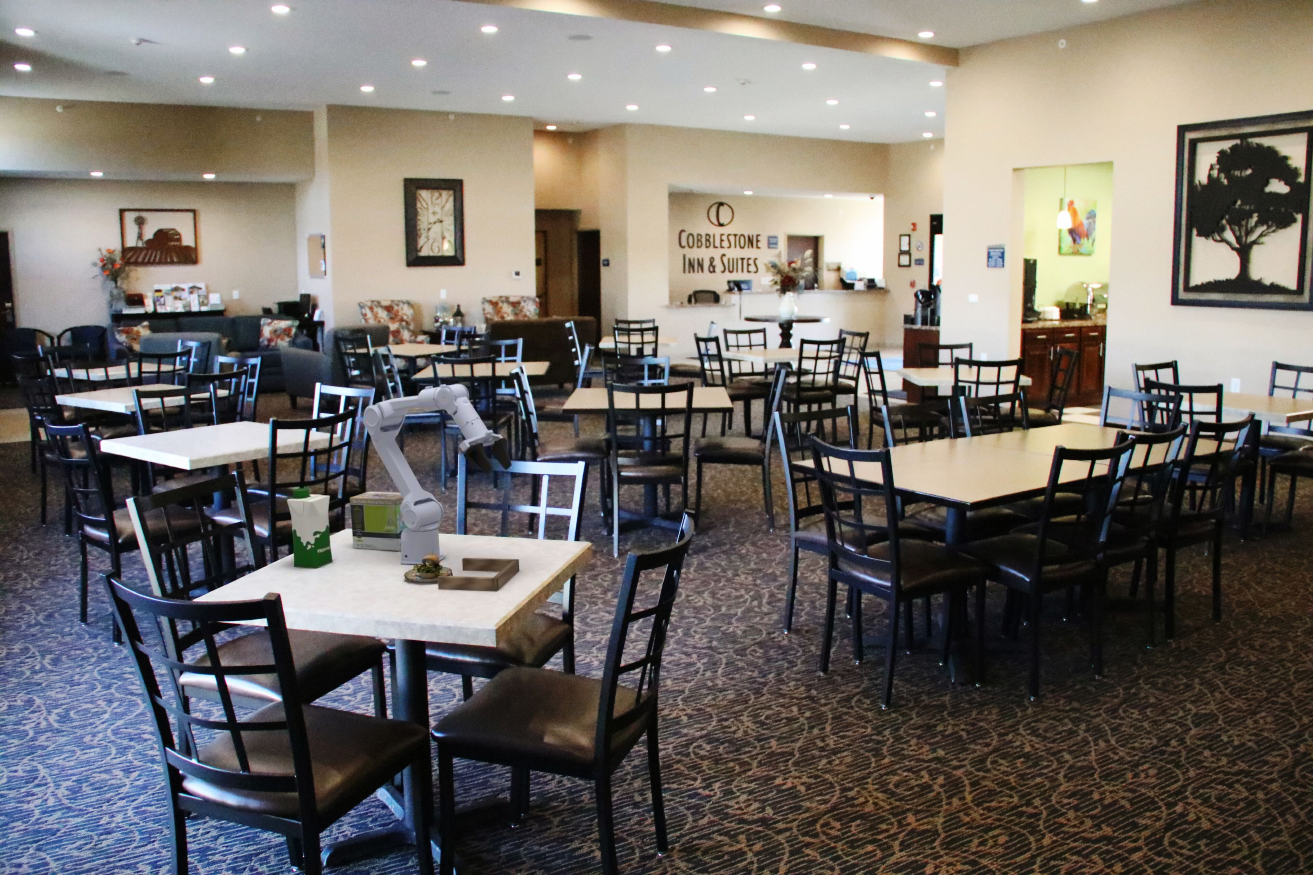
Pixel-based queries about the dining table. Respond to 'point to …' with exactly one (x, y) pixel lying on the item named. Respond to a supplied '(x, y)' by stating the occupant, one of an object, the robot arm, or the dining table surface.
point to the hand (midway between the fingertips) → (499, 469)
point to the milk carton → (310, 528)
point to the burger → (428, 570)
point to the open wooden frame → (504, 567)
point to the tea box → (377, 520)
